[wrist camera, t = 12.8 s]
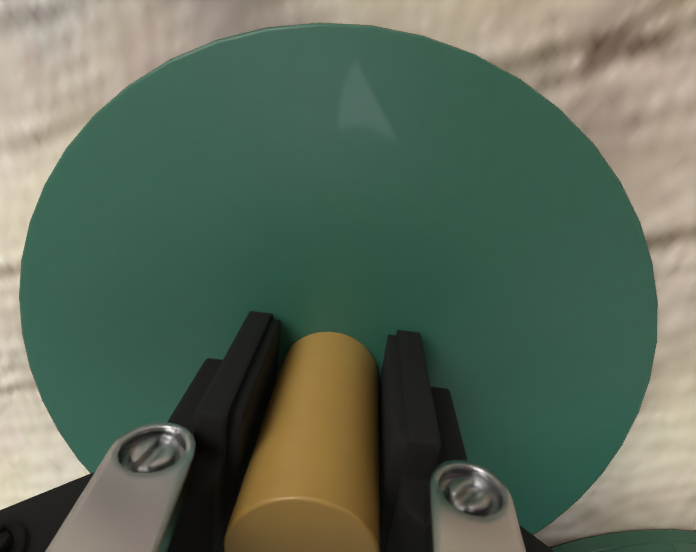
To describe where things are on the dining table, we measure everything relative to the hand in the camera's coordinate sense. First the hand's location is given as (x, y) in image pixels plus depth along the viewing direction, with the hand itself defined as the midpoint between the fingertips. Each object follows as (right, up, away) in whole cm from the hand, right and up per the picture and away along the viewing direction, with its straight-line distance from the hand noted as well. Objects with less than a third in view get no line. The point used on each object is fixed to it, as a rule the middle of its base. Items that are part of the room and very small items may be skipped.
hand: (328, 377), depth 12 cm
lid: (0, 0, +1) cm, 1 cm away
